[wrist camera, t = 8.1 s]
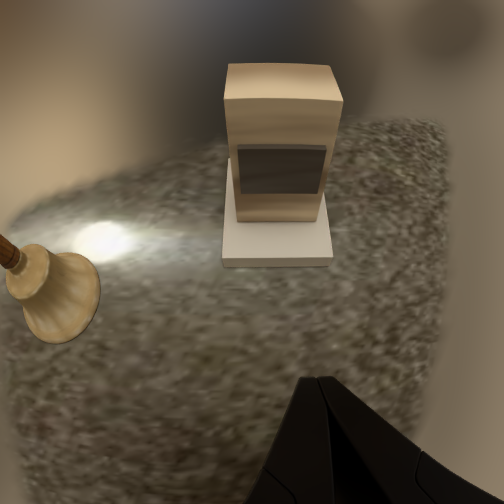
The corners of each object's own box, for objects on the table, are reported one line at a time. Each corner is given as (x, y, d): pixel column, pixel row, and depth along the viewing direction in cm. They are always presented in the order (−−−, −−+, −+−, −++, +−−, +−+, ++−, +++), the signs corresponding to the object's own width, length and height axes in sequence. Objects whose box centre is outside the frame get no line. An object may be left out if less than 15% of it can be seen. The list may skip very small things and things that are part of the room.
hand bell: (119, 287, 24) (-2, 138, 10) (58, 364, 20) (-105, 279, 6) (66, 238, 26) (-30, 109, 12) (13, 303, 23) (-108, 205, 9)
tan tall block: (316, 225, 24) (345, 105, 14) (236, 226, 24) (223, 103, 14) (310, 181, 26) (329, 65, 16) (238, 181, 26) (228, 64, 16)
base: (329, 266, 24) (348, 217, 18) (224, 267, 24) (213, 218, 18) (315, 169, 29) (325, 115, 23) (229, 169, 29) (223, 114, 23)
